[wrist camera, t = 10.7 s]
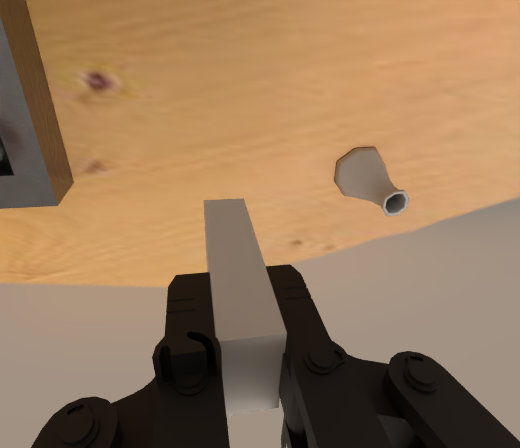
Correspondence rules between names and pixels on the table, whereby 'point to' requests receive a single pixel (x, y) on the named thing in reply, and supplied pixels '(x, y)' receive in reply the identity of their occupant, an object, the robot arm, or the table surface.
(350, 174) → the flask
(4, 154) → the red plunger
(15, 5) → the block
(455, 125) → the table surface
